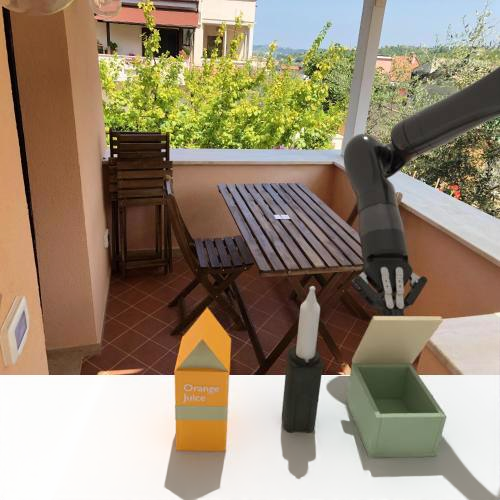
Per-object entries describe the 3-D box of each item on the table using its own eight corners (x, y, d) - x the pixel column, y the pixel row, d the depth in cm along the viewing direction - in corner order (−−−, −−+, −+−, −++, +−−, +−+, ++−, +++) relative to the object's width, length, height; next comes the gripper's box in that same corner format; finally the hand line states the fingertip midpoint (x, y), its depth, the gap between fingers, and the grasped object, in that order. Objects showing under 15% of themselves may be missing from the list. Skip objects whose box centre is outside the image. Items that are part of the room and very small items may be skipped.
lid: (443, 320, 64) (441, 316, 65) (374, 320, 63) (373, 315, 64) (412, 363, 74) (410, 359, 74) (352, 364, 73) (351, 359, 74)
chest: (436, 456, 66) (446, 416, 63) (368, 458, 65) (376, 417, 62) (403, 399, 77) (411, 363, 74) (345, 400, 76) (351, 364, 74)
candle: (284, 432, 69) (297, 294, 59) (281, 410, 73) (293, 278, 64) (315, 433, 69) (333, 294, 60) (310, 410, 74) (326, 279, 64)
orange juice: (175, 450, 64) (172, 337, 57) (182, 408, 73) (181, 305, 65) (227, 451, 65) (231, 339, 57) (229, 410, 73) (232, 306, 65)
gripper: (351, 225, 71) (363, 328, 64) (427, 227, 72) (447, 328, 65) (339, 243, 78) (349, 338, 71) (409, 245, 79) (425, 338, 72)
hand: (396, 333), depth 68 cm, fingers closed
